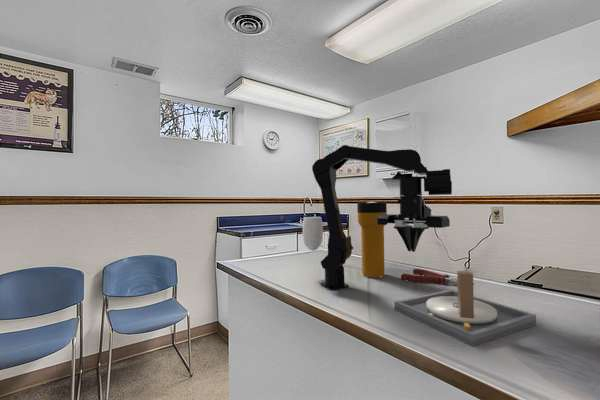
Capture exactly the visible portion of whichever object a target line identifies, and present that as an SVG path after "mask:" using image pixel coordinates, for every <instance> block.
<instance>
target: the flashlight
mask: <svg viewBox="0 0 600 400" xmlns="http://www.w3.org/2000/svg"><path fill="white" fill-rule="evenodd" d="M356 204H357V207H356V208H357V222H358V224H359V226H360V229H361V233H360V234H361V274H362V273H363V274H362V275H363V276H364V275H365V276H364V277H366V276H368V277H367V278H381V277H380V276H383V277H385V226H386V225H378V224H377V218H378V216H379V215H385V214H388V213H387V212H388V209H387V205H388V204H387V202H386V201H385V202H384V201H379V202H377V201H367V202H364V201H363V202H357V203H356Z"/></svg>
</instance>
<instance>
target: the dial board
mask: <svg viewBox="0 0 600 400" xmlns="http://www.w3.org/2000/svg"><path fill="white" fill-rule="evenodd" d="M440 296H454V297H458V290H454V289H447V290H442V291H436V292H432V293H428V294H424V295H420V296H419V295H417V296H415V297H408V298H404V299H399V300H395V301H393V303H394V308H393V309H394V311H396V312H398V313H400V314H403V315H404V316H406V317H409V318H411V319H414V320H416V321H418V322H420V323H421V324H424V325H426V326H429V327H431V328H433V329H435V330H437V331H438V332H442V333H443V334H446V335H448V336H450V337H452V338H454V339H457V340H458V341H460V342H463V343H465V344H467V345H469V346H471V347H474V346H475V347H476V346H479V345H481V344H483V343H487V342H489V341H492V340H496V339H499V338H502V337H505V336H507V335H510V334H513V333H515V332H519V331H521V330H525V329H528V328H531V327H533V326H536V325H537V315H536V314H533V313H530V312H527V311H524V310H521V309H518V308H514V307H510V306H508V305H506V304H505V305H504V304H501V303H498V302H494V301H491V300H489V299H484V298H481V297H477V296H475V295H473V300H477V301H481V302H483V303H486V304H488V305H490V306H492V307H494V308H495V309H496V310H497V319H496V320H495V321H493V322H490V323H485V324H469V323H465V322H464V323H460V322H455V321H450V320H446V319H443V318H440V317H438V316H436V315H434V314H432V313H430V312H429V311H428V310H427V308H426V302H427V300H428V299H430V298H434V297H440Z"/></svg>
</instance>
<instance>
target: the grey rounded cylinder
mask: <svg viewBox="0 0 600 400" xmlns="http://www.w3.org/2000/svg"><path fill="white" fill-rule="evenodd" d="M323 225H324V224H323V220H322V217H321V216H304V217H303V221H302V237H303V242H304V245H305V247H306V248H307V249H308V250H310V251H317V250H318V248H319V247H321V245H322V242H323V236H324V235H323V234H324V228H323V227H324V226H323Z"/></svg>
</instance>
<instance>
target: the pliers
mask: <svg viewBox="0 0 600 400" xmlns="http://www.w3.org/2000/svg"><path fill="white" fill-rule="evenodd" d="M413 273H414V274H413ZM416 274H419V275H416ZM422 275H424V276H422ZM400 279H401V280H402V279H403V280H402V281H405V280H408V281H407V282H410V281H412V282H411V283H417V282H419V283H420V284H421V283H422V284H437V285H438V284H439V285H441V286H444V285H450V286H455V287H458V279H457V278H453V277H450V275H448V274H441V273H436V272H435V271H430V270H427V269H419V268H414V269H413V270H412V274H410V273H402V274H401V275H400ZM419 283H418V284H419ZM474 285H475V283H474V282H473V286H474Z"/></svg>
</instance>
